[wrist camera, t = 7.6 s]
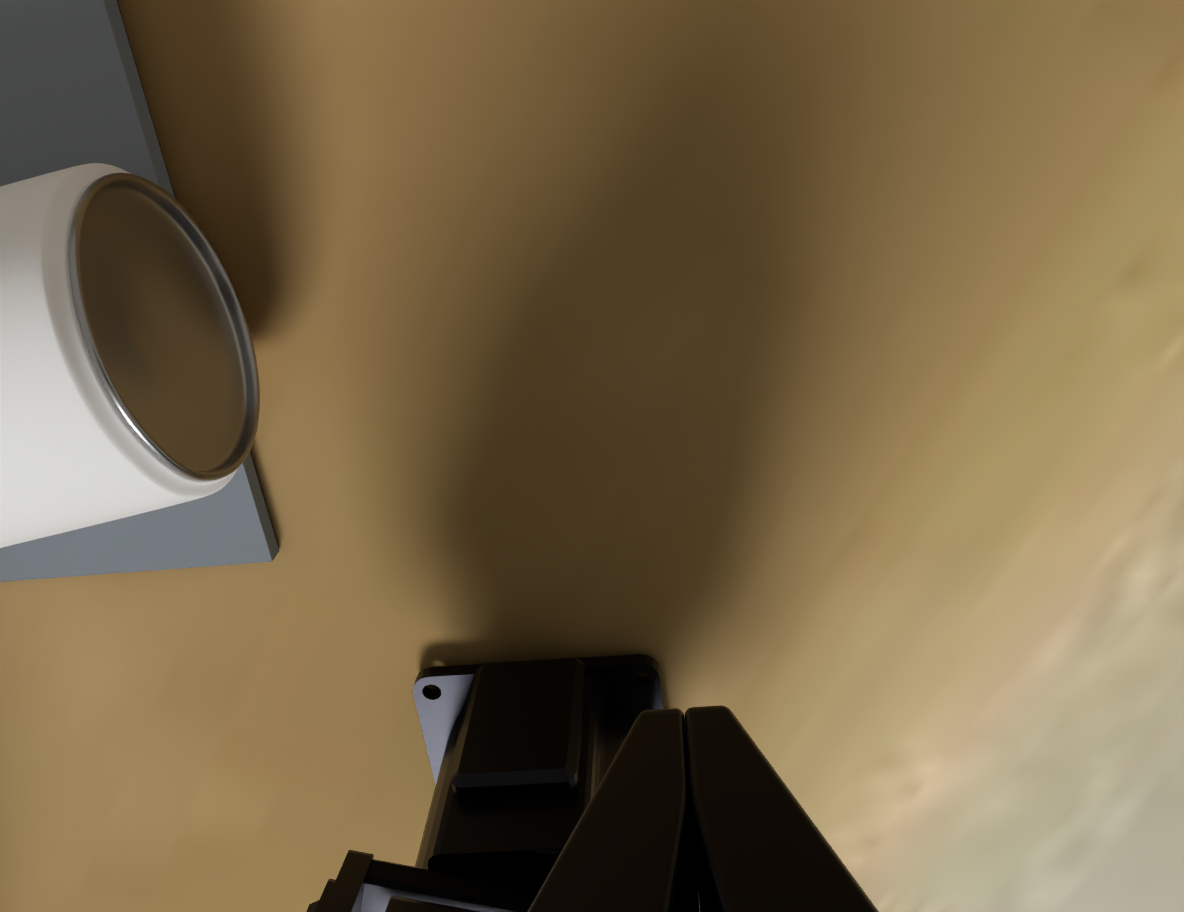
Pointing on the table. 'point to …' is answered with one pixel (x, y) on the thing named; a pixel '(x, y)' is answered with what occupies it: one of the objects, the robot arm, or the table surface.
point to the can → (114, 354)
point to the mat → (128, 141)
